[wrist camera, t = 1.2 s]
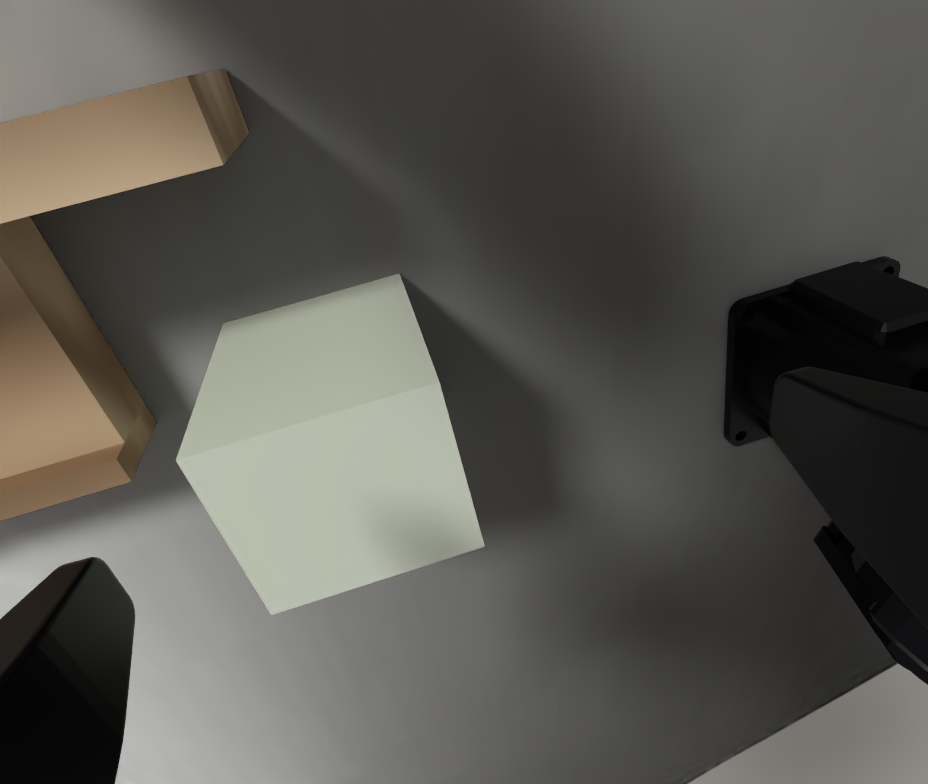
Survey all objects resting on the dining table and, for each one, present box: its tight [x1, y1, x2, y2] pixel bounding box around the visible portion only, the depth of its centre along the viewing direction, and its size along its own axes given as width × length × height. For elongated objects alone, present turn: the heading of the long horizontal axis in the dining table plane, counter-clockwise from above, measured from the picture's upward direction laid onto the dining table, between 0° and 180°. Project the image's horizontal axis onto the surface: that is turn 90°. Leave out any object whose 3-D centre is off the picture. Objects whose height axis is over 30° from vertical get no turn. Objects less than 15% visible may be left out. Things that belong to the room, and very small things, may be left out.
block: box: [176, 273, 485, 615], centre depth 16 cm, size 6×6×7 cm
